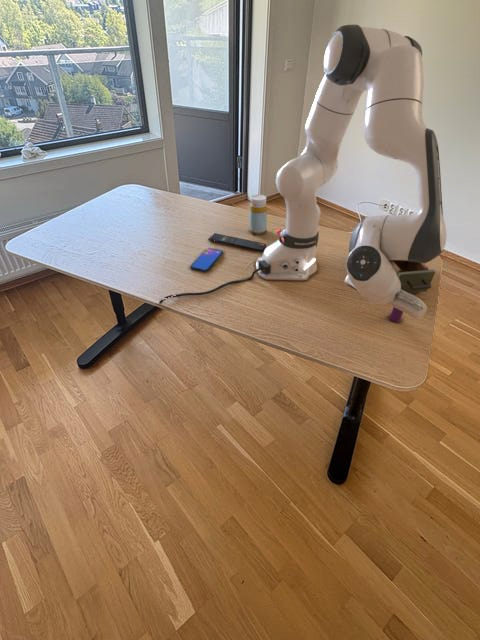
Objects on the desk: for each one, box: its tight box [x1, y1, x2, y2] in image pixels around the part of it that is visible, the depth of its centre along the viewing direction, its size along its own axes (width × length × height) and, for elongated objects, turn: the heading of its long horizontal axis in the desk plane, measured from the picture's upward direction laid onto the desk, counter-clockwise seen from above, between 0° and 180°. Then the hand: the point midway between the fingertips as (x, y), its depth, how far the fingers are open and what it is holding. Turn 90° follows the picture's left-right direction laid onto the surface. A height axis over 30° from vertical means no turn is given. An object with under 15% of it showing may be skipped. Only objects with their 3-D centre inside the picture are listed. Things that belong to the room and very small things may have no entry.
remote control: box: [208, 232, 267, 252], centre depth 141 cm, size 5×24×1 cm, turn 65°
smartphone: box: [190, 247, 224, 272], centre depth 132 cm, size 7×1×15 cm
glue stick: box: [389, 306, 404, 323], centre depth 102 cm, size 3×3×8 cm
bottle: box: [249, 194, 268, 236], centre depth 145 cm, size 7×7×15 cm
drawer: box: [389, 260, 436, 294], centre depth 114 cm, size 18×12×8 cm, turn 7°
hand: (391, 301), depth 94 cm, fingers open, 8 cm apart
